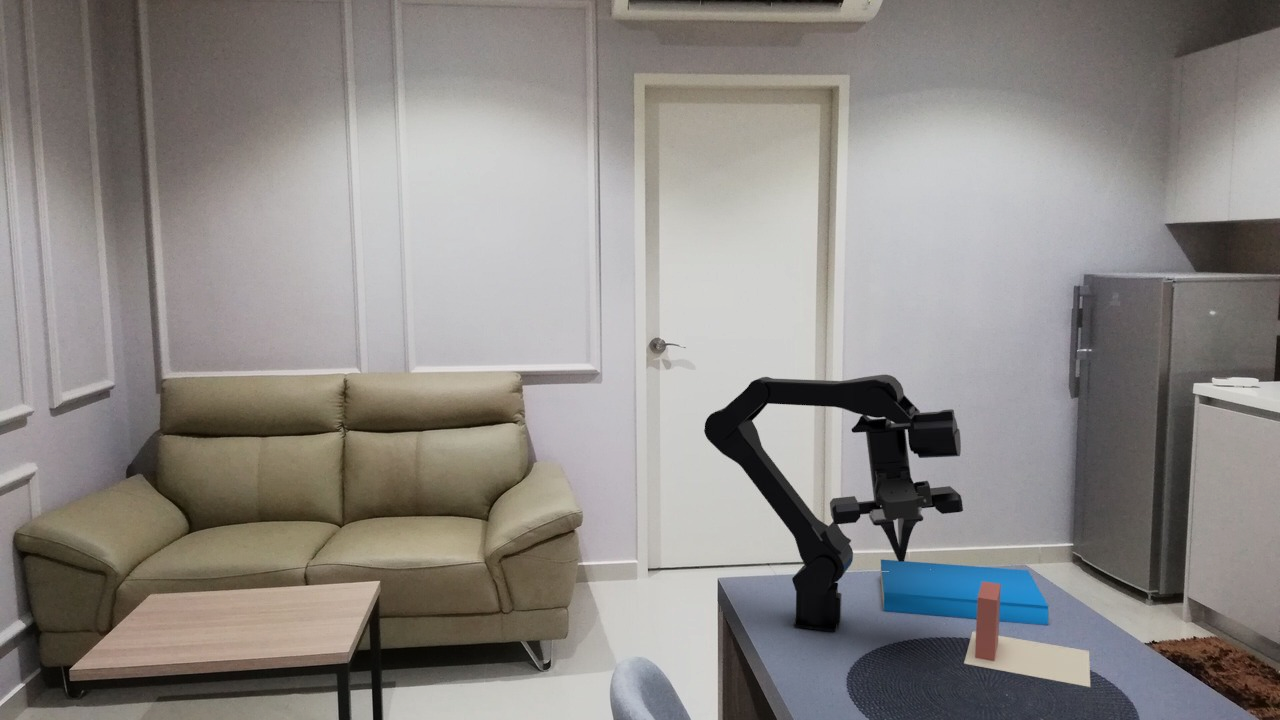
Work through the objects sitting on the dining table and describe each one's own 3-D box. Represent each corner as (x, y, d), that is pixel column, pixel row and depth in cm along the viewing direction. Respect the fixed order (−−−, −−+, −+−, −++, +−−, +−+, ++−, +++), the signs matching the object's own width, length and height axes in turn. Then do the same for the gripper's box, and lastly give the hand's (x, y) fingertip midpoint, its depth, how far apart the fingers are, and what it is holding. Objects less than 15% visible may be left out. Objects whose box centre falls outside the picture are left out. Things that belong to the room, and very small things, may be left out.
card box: (975, 657, 128) (977, 597, 127) (979, 638, 134) (982, 581, 133) (994, 661, 127) (997, 600, 126) (998, 642, 133) (1000, 584, 132)
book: (879, 559, 161) (1027, 567, 155) (879, 582, 161) (1027, 591, 156) (884, 593, 144) (1050, 604, 139) (883, 619, 145) (1049, 631, 139)
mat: (963, 666, 126) (963, 663, 126) (972, 634, 137) (972, 631, 137) (1090, 690, 119) (1090, 686, 119) (1088, 654, 130) (1089, 651, 130)
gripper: (830, 476, 127) (844, 583, 128) (965, 462, 125) (978, 571, 125) (824, 462, 138) (836, 561, 139) (948, 448, 136) (959, 549, 136)
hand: (901, 560), depth 135 cm, fingers closed
